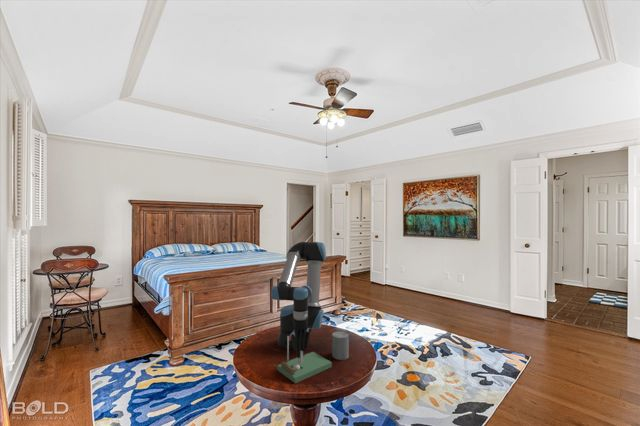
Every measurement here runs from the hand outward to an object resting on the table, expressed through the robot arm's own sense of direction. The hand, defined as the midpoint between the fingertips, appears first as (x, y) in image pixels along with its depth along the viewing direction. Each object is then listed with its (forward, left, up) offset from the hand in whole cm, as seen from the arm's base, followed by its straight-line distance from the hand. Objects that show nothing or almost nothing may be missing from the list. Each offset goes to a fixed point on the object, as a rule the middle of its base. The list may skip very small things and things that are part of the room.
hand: (300, 362), depth 159 cm
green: (0, +3, -4) cm, 5 cm away
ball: (0, -3, -2) cm, 3 cm away
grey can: (+2, +27, -4) cm, 28 cm away
